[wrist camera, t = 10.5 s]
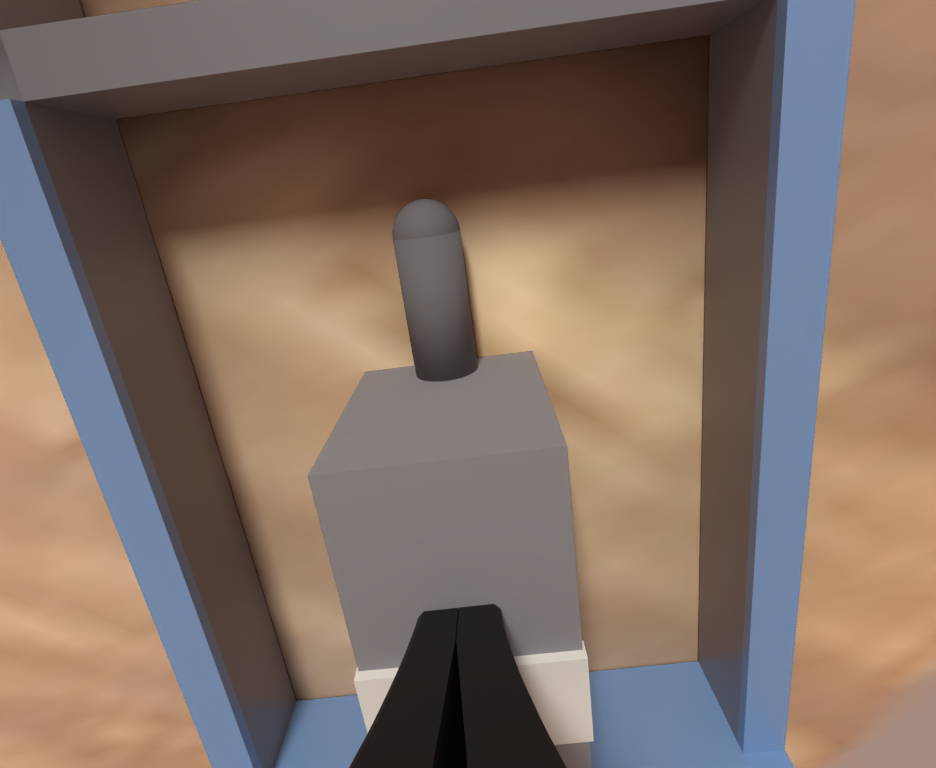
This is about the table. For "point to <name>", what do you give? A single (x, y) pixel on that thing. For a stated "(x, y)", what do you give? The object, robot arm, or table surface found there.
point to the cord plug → (455, 495)
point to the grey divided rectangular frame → (181, 404)
